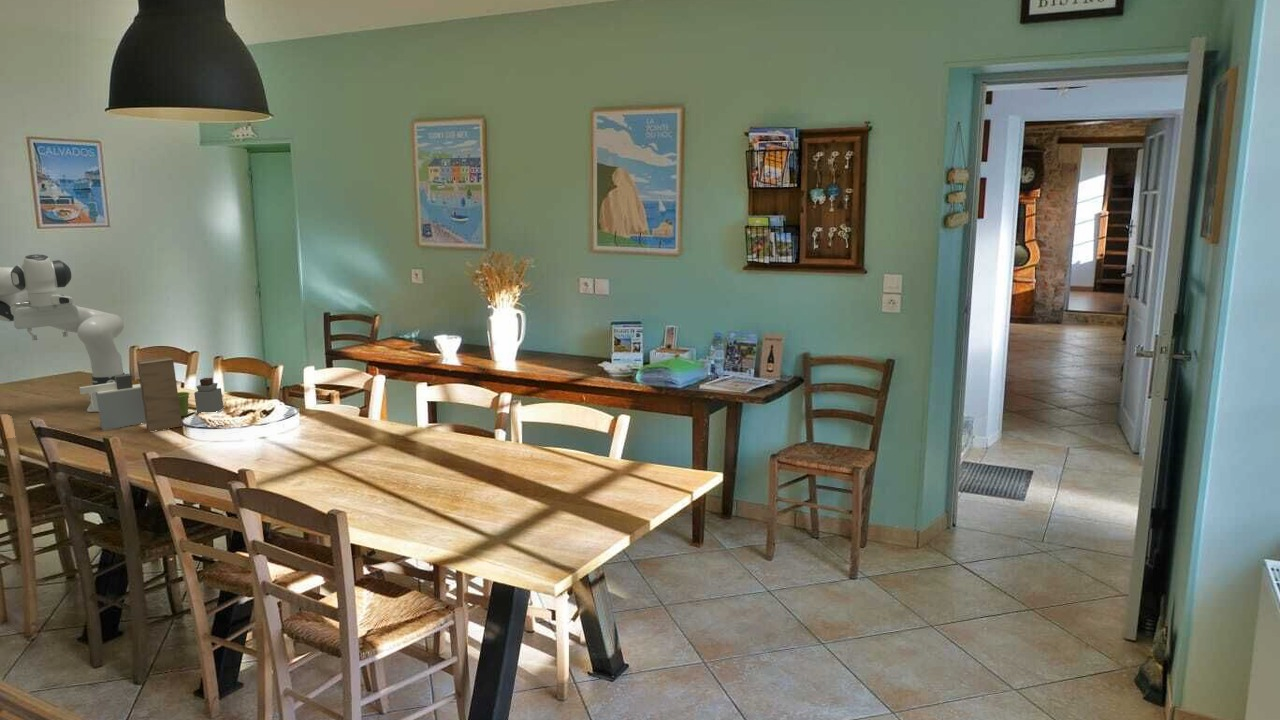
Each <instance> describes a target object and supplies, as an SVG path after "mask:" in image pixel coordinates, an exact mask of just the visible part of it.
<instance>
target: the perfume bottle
mask: <svg viewBox="0 0 1280 720" xmlns="http://www.w3.org/2000/svg"><path fill="white" fill-rule="evenodd" d="M213 379H214V378H213V377H203V378H201V379H199V382H200V383H199V385H196V389H197V391H195V392H194V393H193V394H194V401H195V402H194V403H195V409H196V416H197V415H198V414H199V413H201V412H216V411H219V410H221V409H222V408H224V401H223V392H222V388H221V387H220V388H218V382H213V381H214V380H213Z"/></svg>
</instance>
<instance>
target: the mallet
mask: <svg viewBox="0 0 1280 720" xmlns="http://www.w3.org/2000/svg"><path fill="white" fill-rule="evenodd" d="M114 377H115V382H113V383H106V384H98V385H93V384H91V385H86V386H79V393H80V395H86V394H89V393H95V392H102V391H109V390H116V389H118V390H120V389H127V388H133V387H132V385H133V383H132V375H131V374H130V373H125V374H122V375H114Z"/></svg>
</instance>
